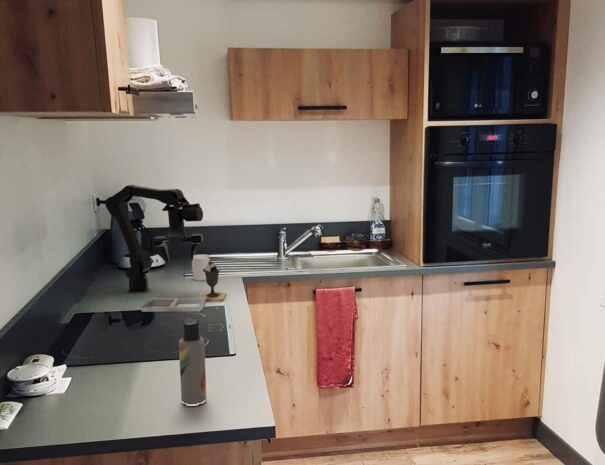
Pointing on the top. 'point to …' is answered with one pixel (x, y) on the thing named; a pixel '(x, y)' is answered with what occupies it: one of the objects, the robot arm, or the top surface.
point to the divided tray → (172, 305)
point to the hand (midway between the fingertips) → (180, 261)
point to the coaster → (213, 299)
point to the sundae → (211, 277)
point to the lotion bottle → (192, 363)
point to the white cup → (199, 266)
